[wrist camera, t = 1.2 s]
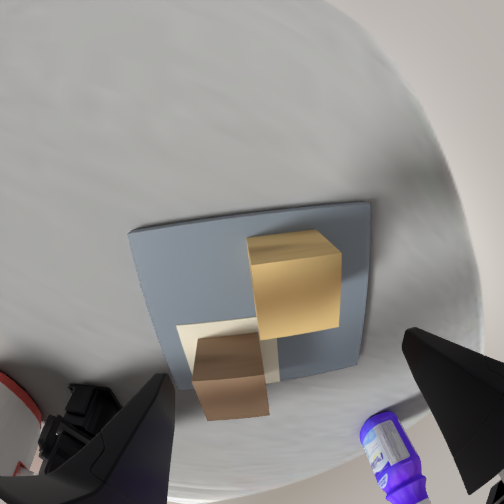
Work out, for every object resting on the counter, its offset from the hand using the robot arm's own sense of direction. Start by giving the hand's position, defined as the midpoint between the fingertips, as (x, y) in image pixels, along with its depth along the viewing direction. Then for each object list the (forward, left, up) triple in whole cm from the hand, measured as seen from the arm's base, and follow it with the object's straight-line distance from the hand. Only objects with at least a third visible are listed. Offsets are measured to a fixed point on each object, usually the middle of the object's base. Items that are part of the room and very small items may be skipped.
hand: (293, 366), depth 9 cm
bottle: (-29, -15, -13) cm, 35 cm away
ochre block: (-1, -2, -11) cm, 11 cm away
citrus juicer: (-20, +41, -13) cm, 48 cm away
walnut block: (-9, +3, -11) cm, 15 cm away
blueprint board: (-5, 0, -12) cm, 13 cm away
